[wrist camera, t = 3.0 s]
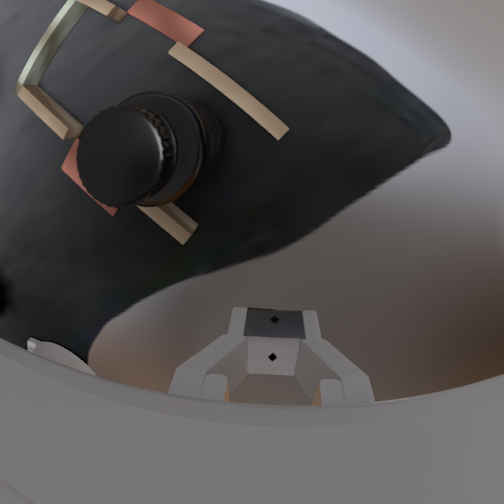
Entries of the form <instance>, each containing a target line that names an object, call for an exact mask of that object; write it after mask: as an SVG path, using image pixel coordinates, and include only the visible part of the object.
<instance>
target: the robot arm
mask: <svg viewBox="0 0 504 504" xmlns="http://www.w3.org/2000/svg"><path fill="white" fill-rule="evenodd" d="M27 344H28V350H25V349H23V348H21V347H19V346H16V345H14V344H12V343H10V342H8V341H6V340H4V339H2V338H0V504H504V374H503V375H500V376H497V377H494V378H490V379H487V380H484V381H480V382H477V383H473V384H470V385H466V386H462V387H458V388H454V389H450V390H445V391H441V392H436V393H431V394H427V395H421V396H415V397H409V398H402V399H395V400H387V401H379V402H375V400H374V396H373V392H372V388H371V385H370V381H369V377H368V376H367V375H366V374H365V373H364V372H362V371H361V370H360V369H359V368H358V367H357V366H355V365H354V364H353V363H352V362H351V361H350V360H348V359H347V358H346V357H345V356H344V355H343V354H341V353H340V352H339V351H338V350H337V349H336V348H335V347H333V346H332V345H331V344H330V343H329V342H328V341H326V340H322V339H321V335H320V329H319V323H318V318H317V313H316V311H315V310H313V311H312V310H302V311H292V310H291V311H290V310H272V309H260V308H247V307H234V308H233V310H232V315H231V319H230V323H229V328H228V332H227V335H222V336H220V337H219V338H218V339H216V340H215V341H214V342H212V343H211V344H209V345H208V346H207V347H205V348H204V349H202V350H201V351H200V352H198V353H197V354H195V355H194V356H193V357H191V358H190V359H188V360H187V361H185V362H184V363H183V364H181V365H180V366H179V367H177V369H176V371H175V374H174V377H173V380H172V382H171V385H170V388H169V391H168V393H165V392H160V391H155V390H150V389H145V388H141V387H136V386H132V385H128V384H124V383H121V382H117V381H113V380H109V379H106V378H102V377H99V376H97V375H96V374H95V372H94V371H93V370H92V369H91V368H90V367H89V366H88V365H87V364H86V363H85V362H83V361H82V360H81V359H80V358H78V357H77V356H76V355H74V354H73V353H72V352H70V351H68V350H67V349H65V348H63V347H61V346H59V345H57V344H54V343H51V342H41V341H39V340H36V339H34V338H32V337H30V338H29V340H28V342H27ZM247 373H254V374H277V375H294V377H295V378H296V380H297V381H298V382H299V384H300V385H301V386H302V388H303V389H304V390H305V392H306V393H307V394H308V396H309V397H310V398H311V400H312V401H313V404H312V406H292V405H263V404H248V403H235V402H229V393H230V392H231V391H232V390H233V389H234V388H235V387H236V386H237V385H238V384H239V383H240V382H241V381H242V379H243V378H244V377H245V376H246V375H247Z"/></svg>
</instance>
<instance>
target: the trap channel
mask: <svg viewBox="0 0 504 504" xmlns="http://www.w3.org/2000/svg"><path fill="white" fill-rule="evenodd" d="M88 7H91V8H93V9H95V10H97V11H99V12H101V13H102V14H104V15H106V16H108V17H110V18H112V19H114V20H115V21H117V22H119V23H120V22H121V21H122V19H123V18H124V17H125V16H126V15H127V14H130V15H132V16H134V17H136V18H137V19H139V20H141V21H143V22H144V23H146V24H148V25H150V26H151V27H153V28H155V29H156V30H158V31H160V32H161V33H163V34H164V35H166V36H168V37H169V38H171V39H172V40H174V41H175V42H177V43H176V44H175V45H174V46H173V47H172V49H171V50H170V51H169V52H168V53H169V54H170V55H172V56H173V57H174V58H176V59H177V60H179V61H180V62H182V63H183V64H184V65H186V66H187V67H189V68H190V69H191V70H193V71H194V72H196V73H197V74H198V75H200V76H201V77H202V78H204V79H205V80H206V81H208V82H209V83H210V84H212V85H213V86H214V87H215V88H217V89H218V90H219V91H221V92H222V93H223V94H224V95H226V96H227V97H228V98H229V99H231V100H232V101H233V102H234V103H236V104H237V105H238V106H239V107H240V108H242V109H243V110H244V111H245V112H246V113H248V114H249V115H250V116H251V117H252V118H253V119H255V120H256V121H257V122H258V123H259V124H260V125H261V126H263V127H264V128H265V129H266V130H267V131H268V132H269V133H271V134H272V135H273V136H274V137H275V138H276V139H277V140H279V139H280V138H281V137H282V136H283V135H284V134H285V133H286V132H287V131H288V130H289V128H288V127H287V126H286V125H285V124H284V123H283V122H282V121H281V120H279V119H278V118H277V117H276V116H275V115H274V114H273V113H272V112H270V111H269V110H268V109H267V108H266V107H265V106H263V105H262V104H261V103H260V102H259V101H258V100H256V99H255V98H254V97H253V96H252V95H250V94H249V93H248V92H247V91H245V90H244V89H243V88H242V87H240V86H239V85H238V84H237V83H235V82H234V81H233V80H232V79H230V78H229V77H228V76H226V75H225V74H224V73H222V72H221V71H220V70H218V69H217V68H216V67H214V66H213V65H212V64H210V63H209V62H208V61H206V60H205V59H203V58H202V57H201V56H199V55H198V54H196V53H195V52H193V51H192V50H190V49H189V47H190V45H191V44H192V43H193V42H194V41H195V40H196V39H197V38H198V37H199V36H200V35H201V34H202V33H203V32H204V31H205V30H203V29H202V28H200V27H199V26H197V25H196V24H194V23H192V22H191V21H189V20H187V19H186V18H184V17H182V16H181V15H179V14H177V13H175V12H174V11H172V10H170V9H168V8H166V7H164V6H163V5H161V4H159V3H157V2H155V1H153V0H138V1H137V2H136V3H135V4H134V5H133V6H132V7H131V8H130V9H129V10H128V11H127V12H125V11H124V10H122V9H121V8H119V7H118V6H116V5H114V4H112V3H110V2H108V1H106V0H68V1H67V2H66V4H65V5H64V6H63V8H62V9H61V10H60V12H59V13H58V14H57V16H56V17H55V19H54V20H53V21H52V23H51V24H50V26H49V27H48V29H47V30H46V32H45V33H44V35H43V36H42V38H41V40H40V41H39V43H38V45H37V46H36V48H35V50H34V51H33V53H32V55H31V57H30V58H29V60H28V62H27V64H26V66H25V68H24V69H23V71H22V73H21V75H20V77H19V79H18V81H17V84H16V86H15V88H14V90H13V91H14V92H15V93H16V94H17V95H18V96H19V97H20V98H21V99H22V100H23V101H24V102H25V103H26V104H27V105H28V106H29V107H30V108H31V109H32V110H33V111H34V112H35V113H36V114H37V115H38V116H39V117H40V118H41V119H42V120H43V121H44V122H45V123H46V124H47V125H48V126H49V127H50V128H51V129H52V130H53V131H54V132H55V133H56V134H57V135H59V136H60V137H61V138H62V139H63V140H64V139H69V138H75V137H77V138H76V139H75V141H74V143H73V145H72V147H71V149H70V151H69V153H68V155H67V157H66V159H65V161H64V163H63V165H62V168H61V169H62V170H63V171H64V172H65V173H66V174H67V175H68V176H69V177H70V178H71V179H72V180H74V181H75V182H76V183H77V184H78V185H79V186H80V187H81V188H82V189H83V190H84V191H85V192H86V193H87V194H88V195H90V194H89V193H88V192H87V190H86V188H85V187H84V186H83V185H82V181H81V179H80V178H79V172H78V170H77V162H76V156H77V147H78V143H79V139H80V138H79V135H80V133H81V131H82V130H83V128H84V126H83V125H82V124H80V123H79V122H78V121H77V120H76V119H75V118H74V117H72V116H71V115H70V114H69V113H68V112H67V111H66V110H65V109H63V108H62V107H61V106H60V105H59V104H58V103H57V102H56V101H54V100H53V99H52V98H51V97H50V96H49V95H48V94H47V93H45V92H44V91H43V90H42V89H41V88H40V87H39V86H38V83H39V81H40V79H41V77H42V76H43V74H44V72H45V70H46V68H47V67H48V65H49V63H50V62H51V60H52V58H53V57H54V55H55V53H56V52H57V50H58V49H59V47H60V46H61V44H62V43H63V41H64V40H65V38H66V37H67V35H68V34H69V32H70V31H71V30H72V28H73V27H74V25H75V24H76V23H77V21H78V20H79V19H80V18H81V16H82V15H83V14H84V12H85V11H86V10H87V9H88ZM90 196H91V197H92V195H90ZM92 198H93V197H92ZM93 199H94V198H93ZM94 200H95V199H94ZM95 201H96V202H97V203H98V204H99V205H101V206H102V207H103V208H104V209H105V210H106V211H107V212H108V213H109V214H111V215H112V216H114V215H115V213H116V212H117V210H118V209H117V208H115V207H108V206H107V205H105V204H101V203H100V202H99V201H98V200H95ZM137 207H139V208H140V209H141V210H142V211H143V212H144V213H146V214H147V215H148V216H149V217H150V218H151V219H153V220H154V221H155V222H156V223H157V224H159V225H160V226H161V227H162V228H163V229H164V230H166V231H167V232H168V233H169V234H170V235H172V236H173V237H174V238H175V239H176V240H178V241H179V242H180V243H181V244H183V245H184V243H185V242H186V241H187V240H188V239H189V237H190V236H191V235H192V234H193V232H194V231H195V229H196V228H197V226H198V224H197V223H196V222H195V221H194V220H192V219H191V218H190V217H189V216H188V215H187V214H185V213H184V212H183V211H182V210H181V209H179V208H178V207H177V206H176V205H175V204H173V203H172V202H171V203H169V204H166V205H163V206H158V207H141V206H137Z"/></svg>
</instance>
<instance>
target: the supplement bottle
mask: <svg viewBox="0 0 504 504" xmlns="http://www.w3.org/2000/svg"><path fill="white" fill-rule="evenodd" d="M223 149H224V131H223V128H222V125H221V123H220V121H219V119H218V118H217V116H216V115H215V114H214V113H213V112H212V111H211V110H210V109H208V108H207V107H205V106H203V105H201V104H199V103H197V102H194V101H191V100H188V99H185V98H182V97H180V96H177V95H174V94H170V93H166V92H159V91H149V92H143V93H139V94H136V95H133V96H131V97H129V98H127V99H125V100H124V101H122V102H121V103H120V104H119V105H117V106H116V107H110V108H108V109H107V110H103V111H101V112H100V113H99V114H98V115H96V116H94V117H93V119H92V121H90V122H89V123H88V124H87V126H86V128H85V129H84V130H83V131H82V135H81V138H80V139H79V143H78V147H77V156H76V162H77V170H78V172H79V178H80V179H81V181H82V185H83V186H84V187H85V188H86V190H87V192H88V193H89V194H90V195H92V197H93V198H94V199H95V200H98V201H99V202H100V203H101V204H105V205H107V206H108V207H115V208H117V209H118V208H121V207H122V208H128V207H130V206H141V207H158V206H163V205H166V204H169V203H171V202H173V201H175V200H177V199H178V198H180V197H182V196H183V195H184V194H186V193H187V192H188V191H189V190H190V189H191V188H192V187H194V186H195V185H196V184H197V183H198V182H199V181H200V180H201V179H202V178H204V177H205V176H206V175H207V174H208V173H209V172H210V171H211V170H212V169H213V168H214V167H215V166H216V164H217V163H218V161H219V159H220V157H221V155H222V152H223Z"/></svg>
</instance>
